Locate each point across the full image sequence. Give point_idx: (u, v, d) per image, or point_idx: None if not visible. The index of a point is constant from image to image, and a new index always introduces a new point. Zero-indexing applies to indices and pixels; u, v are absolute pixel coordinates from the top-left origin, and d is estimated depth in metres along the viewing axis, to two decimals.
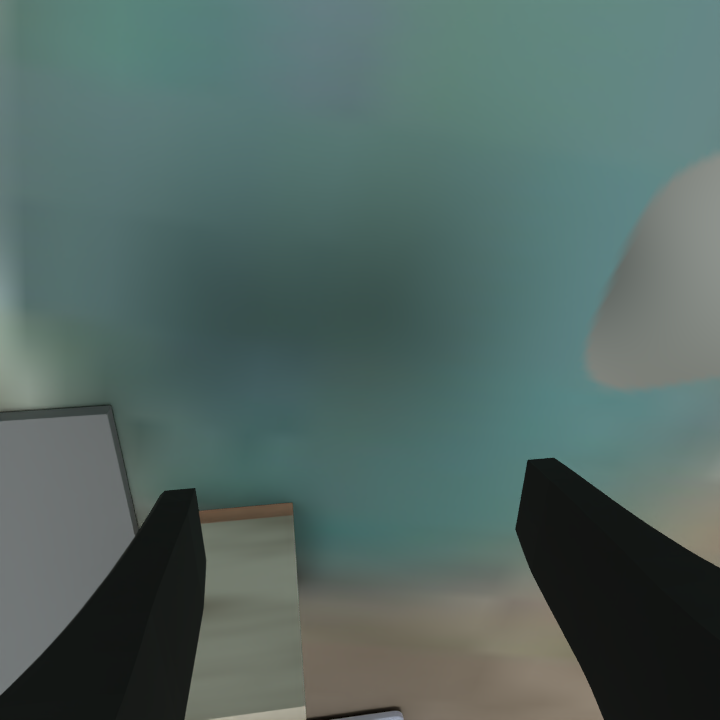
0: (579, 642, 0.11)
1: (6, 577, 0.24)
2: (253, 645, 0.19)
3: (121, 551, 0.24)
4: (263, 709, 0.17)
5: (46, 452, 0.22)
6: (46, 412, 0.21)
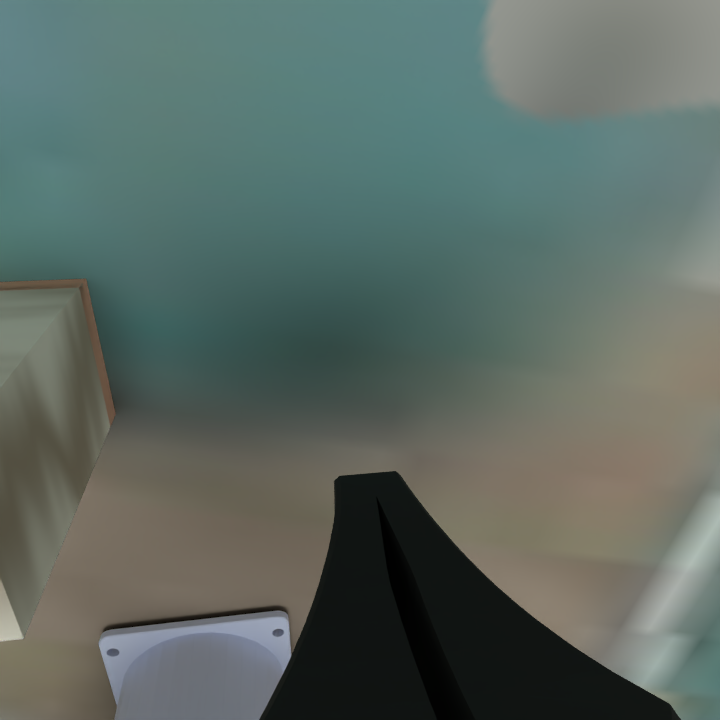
0: None
1: None
2: None
3: None
4: None
5: None
6: None
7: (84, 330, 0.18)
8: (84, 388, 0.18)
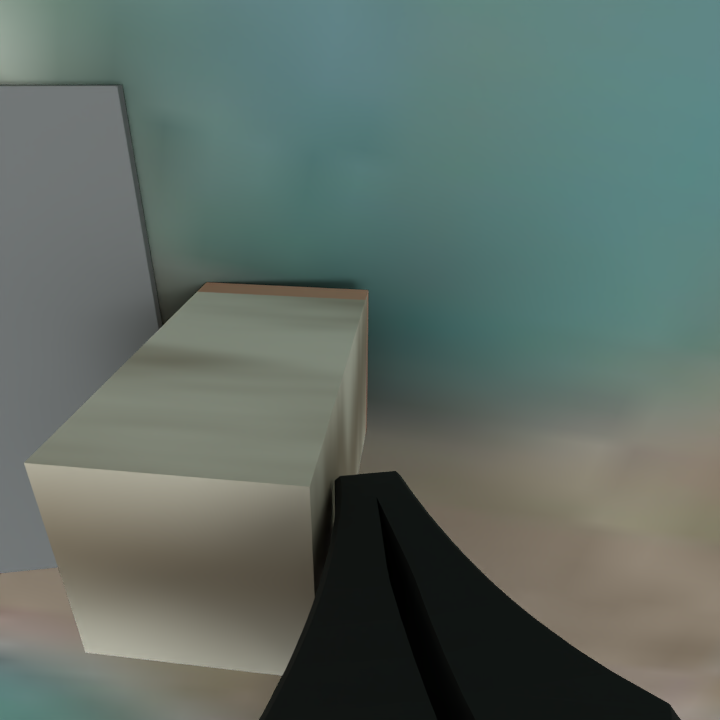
0: None
1: None
2: (254, 407, 0.12)
3: (136, 330, 0.18)
4: (238, 478, 0.10)
5: (29, 150, 0.15)
6: (29, 85, 0.15)
7: (363, 344, 0.17)
8: (358, 405, 0.17)
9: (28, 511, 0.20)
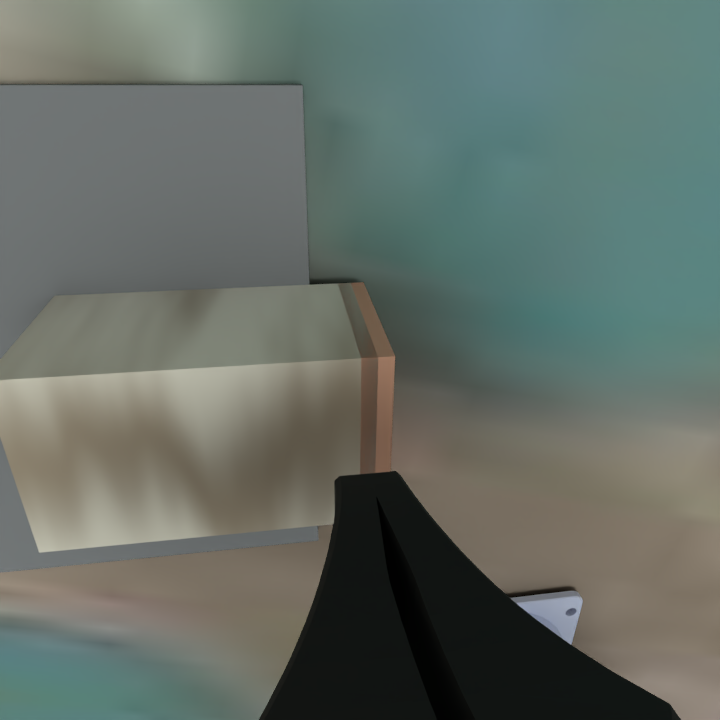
0: None
1: None
2: (107, 343, 0.14)
3: None
4: (6, 355, 0.14)
5: (213, 146, 0.16)
6: (217, 85, 0.15)
7: (346, 405, 0.14)
8: (302, 455, 0.15)
9: None
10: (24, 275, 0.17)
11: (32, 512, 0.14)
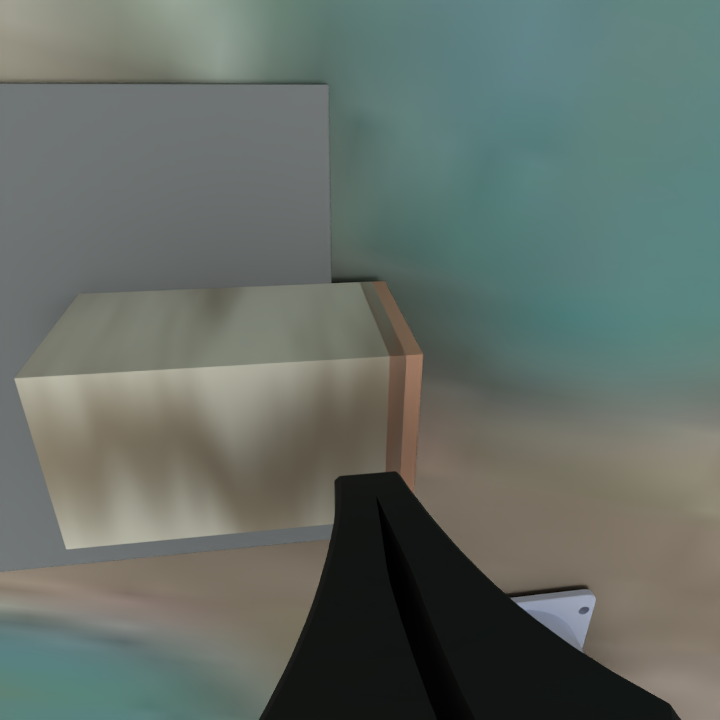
0: None
1: None
2: (136, 341, 0.14)
3: None
4: (36, 352, 0.14)
5: (239, 145, 0.16)
6: (243, 84, 0.15)
7: (373, 402, 0.14)
8: (328, 452, 0.15)
9: None
10: (49, 273, 0.17)
11: (60, 509, 0.14)
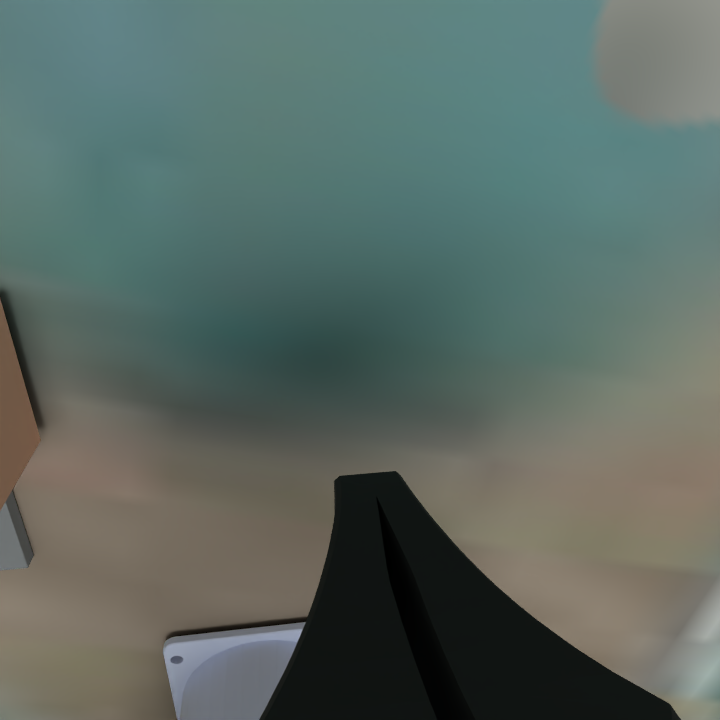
0: None
1: None
2: None
3: None
4: None
5: None
6: None
7: None
8: None
9: None
10: None
11: None
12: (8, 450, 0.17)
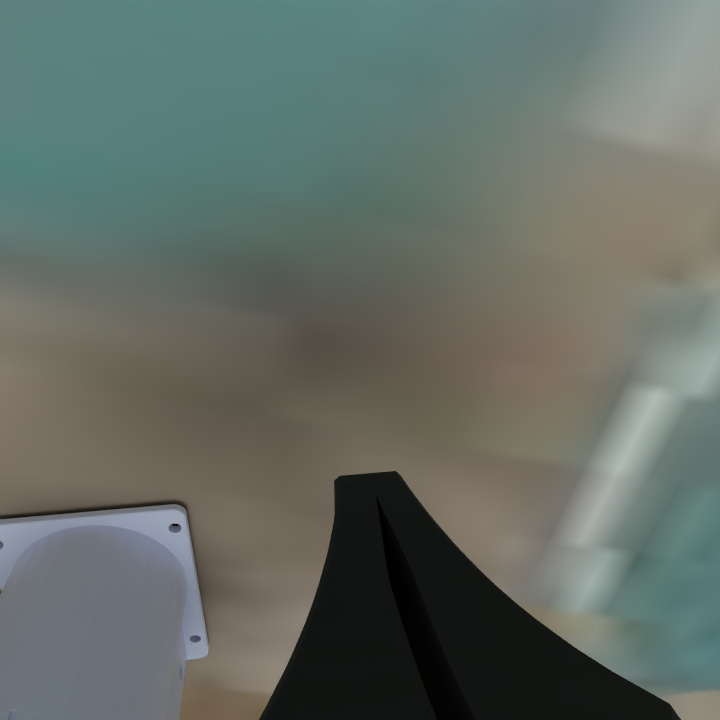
0: None
1: None
2: None
3: None
4: None
5: None
6: None
7: None
8: None
9: None
10: None
11: None
12: None
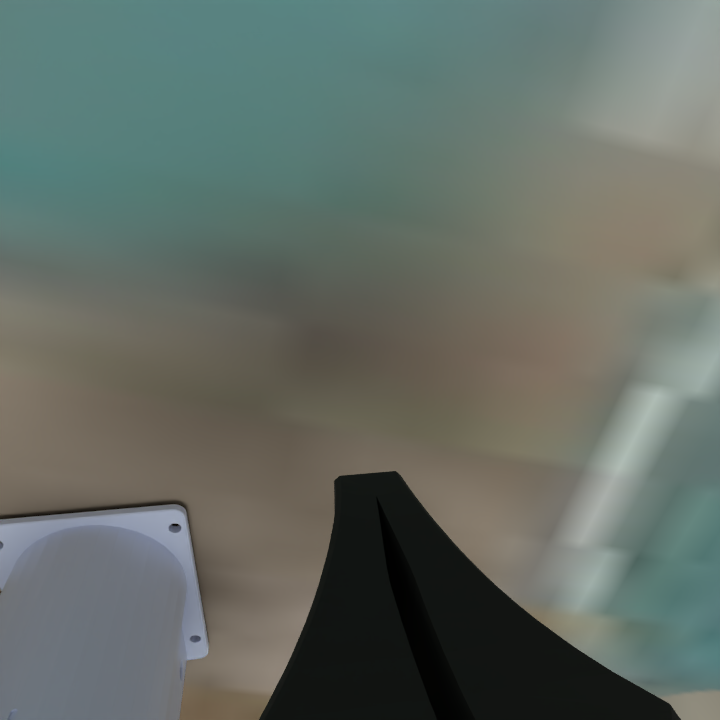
0: None
1: None
2: None
3: None
4: None
5: None
6: None
7: None
8: None
9: None
10: None
11: None
12: None
